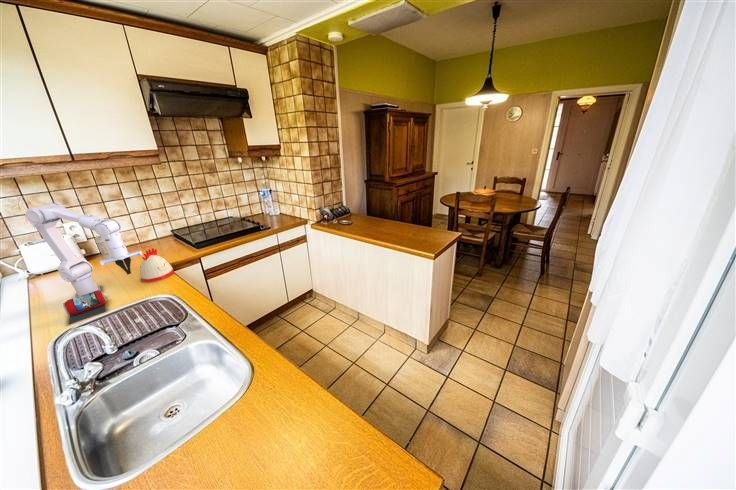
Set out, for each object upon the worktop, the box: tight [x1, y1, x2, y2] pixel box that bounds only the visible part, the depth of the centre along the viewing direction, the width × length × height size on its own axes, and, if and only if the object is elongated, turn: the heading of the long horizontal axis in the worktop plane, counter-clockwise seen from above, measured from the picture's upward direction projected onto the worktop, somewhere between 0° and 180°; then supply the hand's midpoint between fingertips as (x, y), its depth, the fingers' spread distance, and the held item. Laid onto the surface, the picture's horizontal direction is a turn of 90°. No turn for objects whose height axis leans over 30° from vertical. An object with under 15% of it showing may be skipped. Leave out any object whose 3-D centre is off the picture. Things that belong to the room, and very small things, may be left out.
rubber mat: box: [68, 303, 106, 325], centre depth 116 cm, size 16×11×1 cm
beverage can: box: [62, 289, 108, 316], centre depth 115 cm, size 7×7×12 cm
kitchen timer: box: [139, 247, 175, 283], centre depth 140 cm, size 14×14×15 cm
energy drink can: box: [94, 235, 112, 259], centre depth 165 cm, size 6×6×15 cm
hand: (129, 273), depth 124 cm, fingers closed
